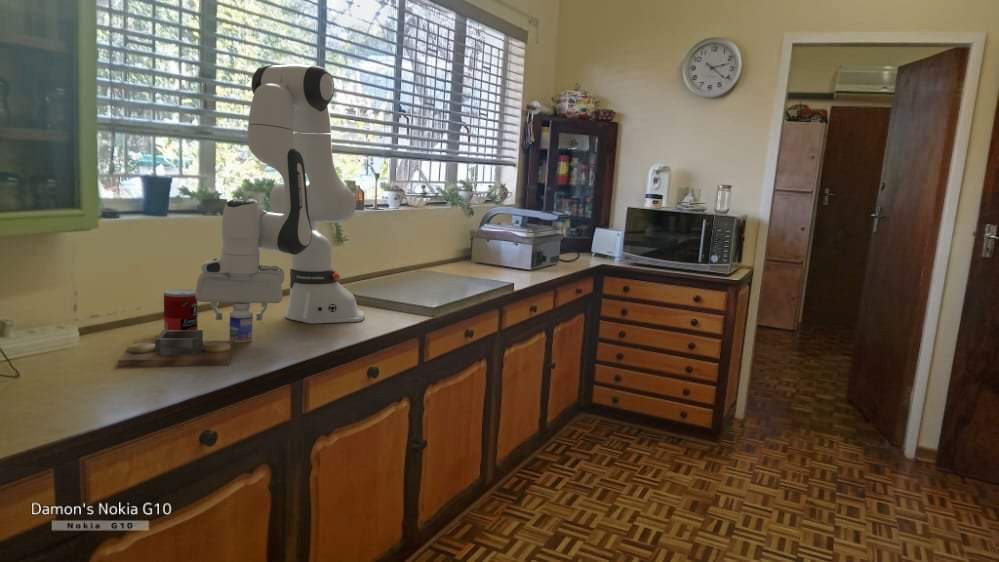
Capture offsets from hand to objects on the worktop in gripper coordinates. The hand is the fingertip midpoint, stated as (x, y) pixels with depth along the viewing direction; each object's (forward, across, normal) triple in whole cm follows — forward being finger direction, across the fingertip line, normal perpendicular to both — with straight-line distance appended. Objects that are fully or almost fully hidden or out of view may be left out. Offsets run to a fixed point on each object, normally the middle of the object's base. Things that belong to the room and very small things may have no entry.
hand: (239, 319), depth 179 cm
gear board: (+6, +12, +13) cm, 19 cm away
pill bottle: (+6, 0, -1) cm, 6 cm away
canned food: (+6, +15, -8) cm, 17 cm away
